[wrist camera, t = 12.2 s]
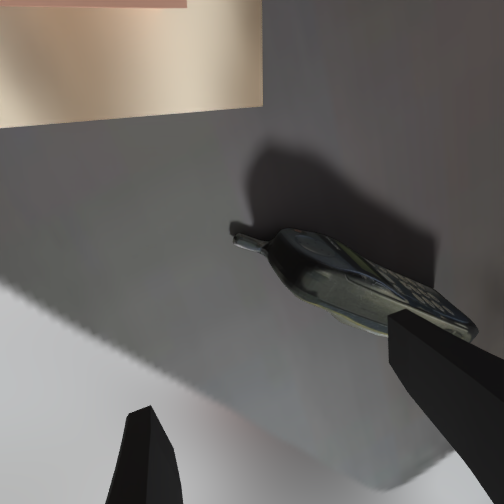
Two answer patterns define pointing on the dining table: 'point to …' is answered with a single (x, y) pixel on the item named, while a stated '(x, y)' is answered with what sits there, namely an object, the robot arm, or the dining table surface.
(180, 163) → the dining table surface
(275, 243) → the mobile phone
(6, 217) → the dining table surface
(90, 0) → the terracotta cube
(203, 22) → the birch block
